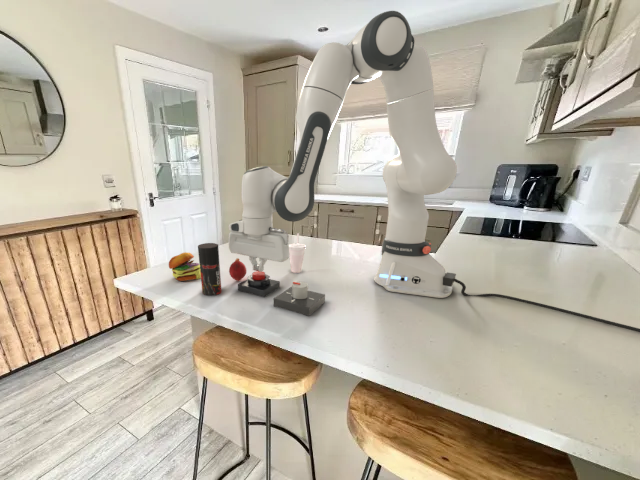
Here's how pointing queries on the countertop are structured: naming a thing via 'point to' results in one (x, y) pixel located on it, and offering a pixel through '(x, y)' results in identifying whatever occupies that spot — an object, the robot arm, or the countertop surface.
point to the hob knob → (299, 290)
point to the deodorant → (209, 269)
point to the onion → (237, 270)
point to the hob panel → (299, 302)
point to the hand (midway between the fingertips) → (258, 270)
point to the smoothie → (296, 255)
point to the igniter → (259, 286)
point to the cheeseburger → (184, 267)
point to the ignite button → (258, 275)
